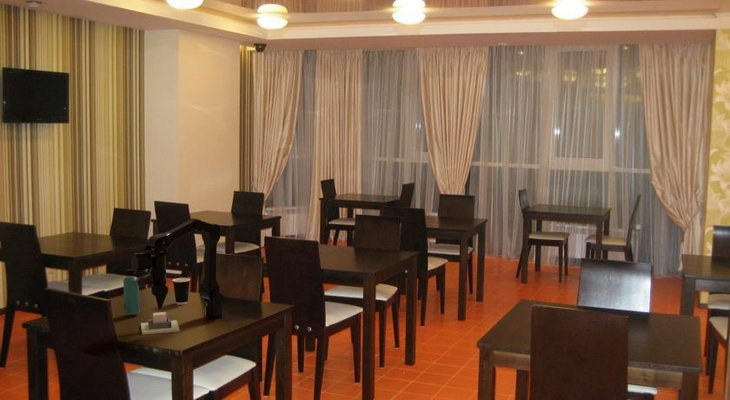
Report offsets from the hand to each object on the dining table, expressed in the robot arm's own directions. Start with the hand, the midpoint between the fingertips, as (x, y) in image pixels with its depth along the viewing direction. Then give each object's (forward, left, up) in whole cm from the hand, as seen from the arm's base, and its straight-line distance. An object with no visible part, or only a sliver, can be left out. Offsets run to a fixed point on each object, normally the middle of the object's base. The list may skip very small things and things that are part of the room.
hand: (159, 306), depth 298 cm
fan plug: (0, 0, -8) cm, 8 cm away
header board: (0, 0, -9) cm, 9 cm away
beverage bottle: (+10, -25, -9) cm, 28 cm away
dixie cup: (-12, -41, -9) cm, 44 cm away
